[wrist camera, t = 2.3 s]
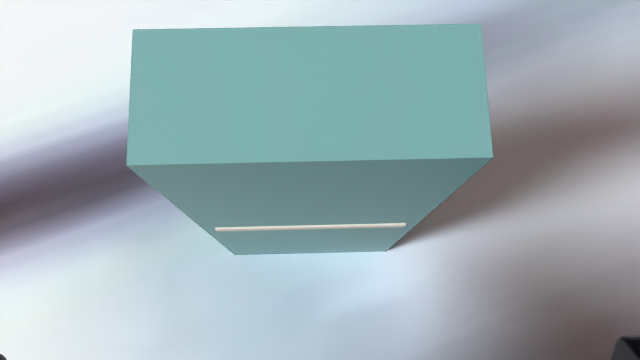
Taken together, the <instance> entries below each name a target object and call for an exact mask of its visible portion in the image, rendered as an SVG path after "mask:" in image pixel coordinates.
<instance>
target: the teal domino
mask: <svg viewBox="0 0 640 360" xmlns="http://www.w3.org/2000/svg"><path fill="white" fill-rule="evenodd" d="M492 158H493V149H492V138H491V127H490V116H489V106H488V95H487V84H486V73H485V63H484V52H483V41H482V30H481V24H435V25H376V26H316V27H256V28H196V29H137V30H133V36H132V57H131V79H130V101H129V122H128V144H127V166H128V167H129V168H130V169H132V170H133V171H134V172H135V173H136V174H138V175H139V176H140V177H141V178H142V179H144V180H145V181H146V182H147V183H148V184H150V185H151V186H152V187H153V188H154V189H156V190H157V191H158V192H159V193H161V194H162V195H163V196H164V197H165V198H167V199H168V200H169V201H170V202H171V203H173V204H174V205H175V206H176V207H177V208H179V209H180V210H181V211H182V212H184V213H185V214H186V215H187V216H188V217H190V218H191V219H192V220H193V221H194V222H196V223H197V224H198V225H199V226H200V227H202V228H203V229H204V230H205V231H207V232H208V233H209V234H210V235H211V236H213V237H214V238H215V239H216V240H217V241H219V242H220V243H221V244H222V245H223V246H225V247H226V248H227V249H228V250H229V251H231V252H232V253H233V254H234V255H249V254H290V253H331V252H371V251H387V250H388V249H389V248H390V247H391V246H393V245H394V244H395V243H396V242H397V241H398V240H399V239H401V238H402V237H403V236H404V235H405V234H406V233H408V232H409V231H410V230H411V229H412V228H413V227H414V226H416V225H417V224H418V223H419V222H420V221H421V220H422V219H424V218H425V217H426V216H427V215H428V214H429V213H430V212H432V211H433V210H434V209H435V208H436V207H437V206H438V205H440V204H441V203H442V202H443V201H444V200H445V199H446V198H448V197H449V196H450V195H451V194H452V193H453V192H454V191H456V190H457V189H458V188H459V187H460V186H461V185H462V184H464V183H465V182H466V181H467V180H468V179H469V178H470V177H472V176H473V175H474V174H475V173H476V172H477V171H478V170H480V169H481V168H482V167H483V166H484V165H485V164H486V163H488V162H489V161H490V160H491V159H492Z"/></svg>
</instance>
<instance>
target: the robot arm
mask: <svg viewBox="0 0 640 360" xmlns="http://www.w3.org/2000/svg"><path fill="white" fill-rule="evenodd" d="M0 360H6V358H5V357H4V356H3V355H2V354H0ZM610 360H640V335H629V336H621V337H620V338H619V339H618V340H617V341H616V343H615V346H614V349H613V351H612V354H611V357H610Z"/></svg>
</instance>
